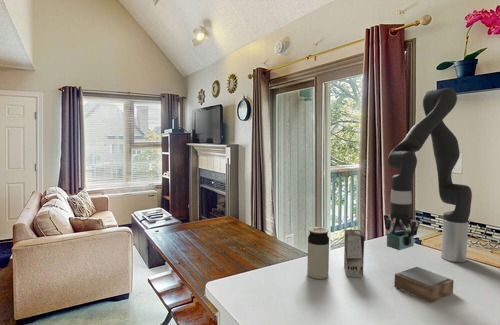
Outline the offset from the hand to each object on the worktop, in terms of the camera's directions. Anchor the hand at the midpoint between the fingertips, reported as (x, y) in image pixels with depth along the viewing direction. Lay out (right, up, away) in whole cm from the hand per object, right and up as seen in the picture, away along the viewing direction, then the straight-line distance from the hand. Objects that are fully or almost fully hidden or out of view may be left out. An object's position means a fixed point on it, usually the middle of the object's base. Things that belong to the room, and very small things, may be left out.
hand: (400, 243), depth 122 cm
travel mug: (-34, -12, -4) cm, 36 cm away
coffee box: (-19, -11, -1) cm, 22 cm away
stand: (+1, -12, -15) cm, 19 cm away
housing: (0, -1, 0) cm, 1 cm away
